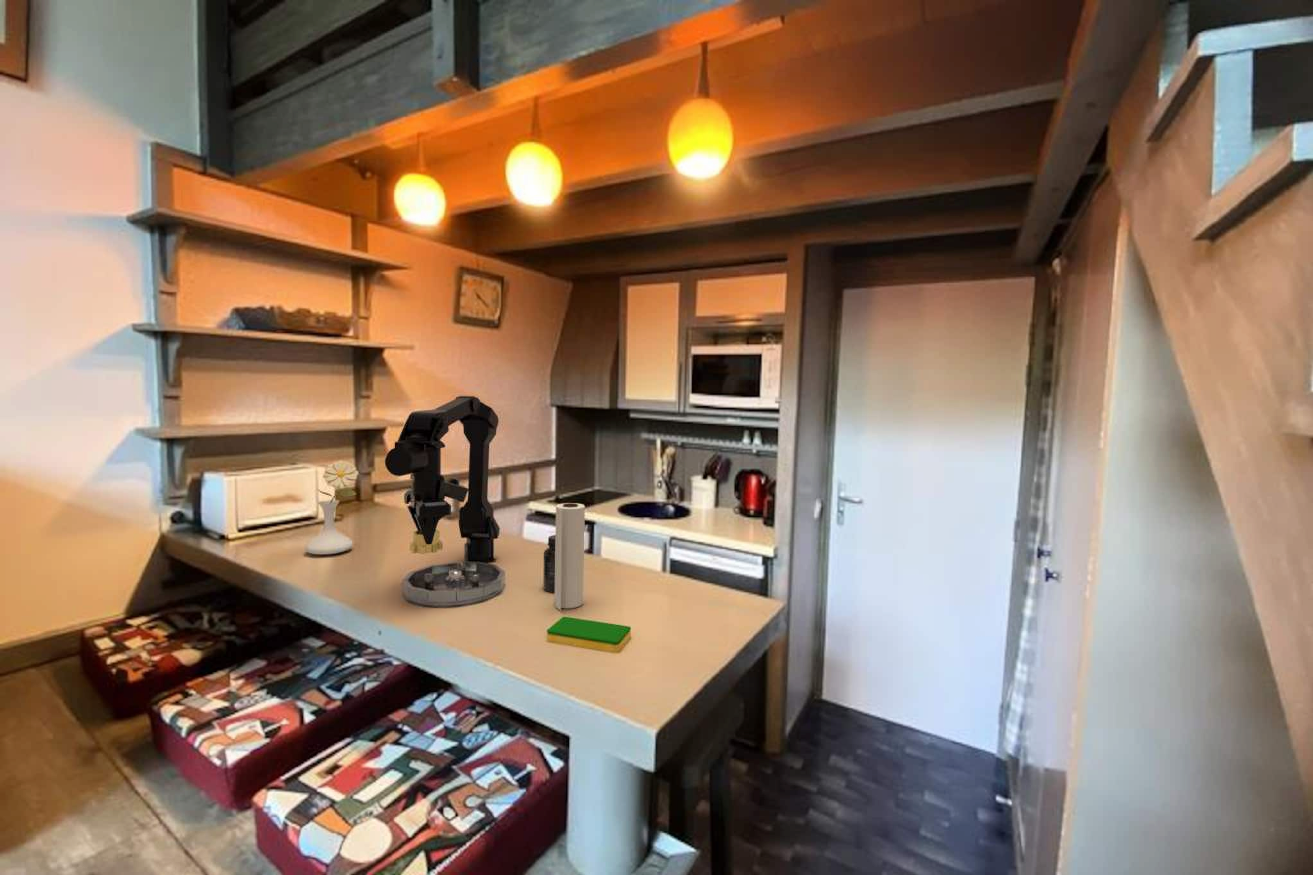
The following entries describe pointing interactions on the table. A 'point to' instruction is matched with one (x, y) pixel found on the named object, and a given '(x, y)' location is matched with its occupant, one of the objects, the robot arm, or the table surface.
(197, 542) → the table surface
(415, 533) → the planet gear
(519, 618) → the table surface
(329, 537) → the flower in vase
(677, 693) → the table surface
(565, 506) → the paper towel roll
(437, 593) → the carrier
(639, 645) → the table surface
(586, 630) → the dish sponge
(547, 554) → the supplement bottle
